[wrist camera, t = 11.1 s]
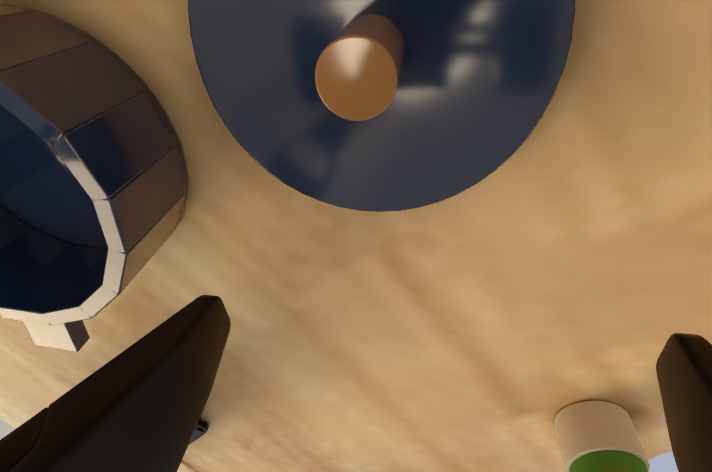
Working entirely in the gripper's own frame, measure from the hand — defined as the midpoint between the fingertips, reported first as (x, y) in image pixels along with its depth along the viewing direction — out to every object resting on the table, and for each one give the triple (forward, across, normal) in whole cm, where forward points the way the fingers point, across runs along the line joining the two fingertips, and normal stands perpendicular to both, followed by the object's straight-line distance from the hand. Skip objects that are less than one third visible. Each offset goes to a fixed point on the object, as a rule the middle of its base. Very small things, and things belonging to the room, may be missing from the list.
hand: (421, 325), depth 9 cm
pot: (+10, +18, +1) cm, 21 cm away
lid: (+11, +3, -3) cm, 11 cm away
